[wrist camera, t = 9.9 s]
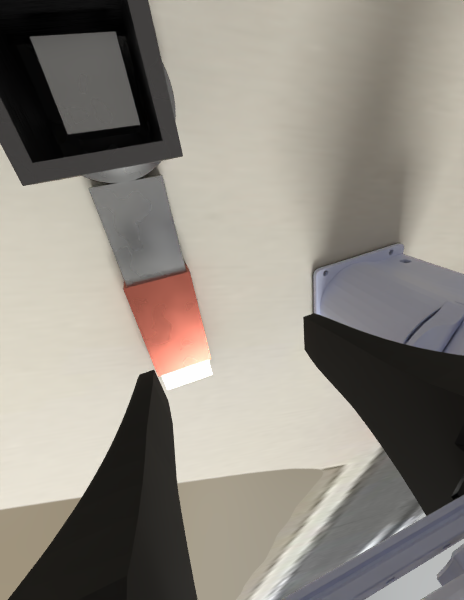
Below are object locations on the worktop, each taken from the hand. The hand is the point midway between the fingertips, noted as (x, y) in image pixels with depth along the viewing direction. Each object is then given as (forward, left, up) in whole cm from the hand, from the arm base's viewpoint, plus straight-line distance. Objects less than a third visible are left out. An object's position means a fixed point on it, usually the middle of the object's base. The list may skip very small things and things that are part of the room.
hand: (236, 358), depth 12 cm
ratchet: (+3, -3, -10) cm, 10 cm away
